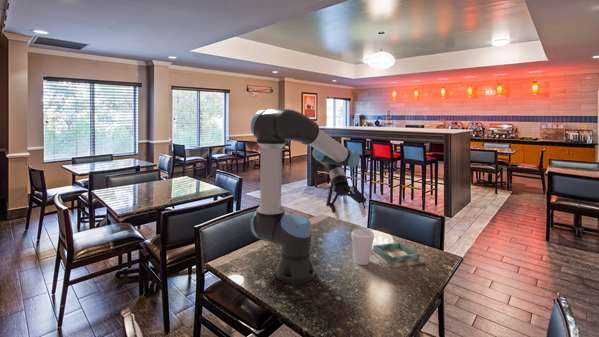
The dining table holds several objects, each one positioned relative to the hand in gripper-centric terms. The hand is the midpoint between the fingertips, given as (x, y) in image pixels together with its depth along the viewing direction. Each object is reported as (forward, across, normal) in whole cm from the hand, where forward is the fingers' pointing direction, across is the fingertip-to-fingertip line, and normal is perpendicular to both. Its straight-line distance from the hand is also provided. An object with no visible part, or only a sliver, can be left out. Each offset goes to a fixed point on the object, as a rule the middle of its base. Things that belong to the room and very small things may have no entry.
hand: (351, 217), depth 150 cm
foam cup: (+20, 0, -4) cm, 20 cm away
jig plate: (+20, -17, -4) cm, 26 cm away
